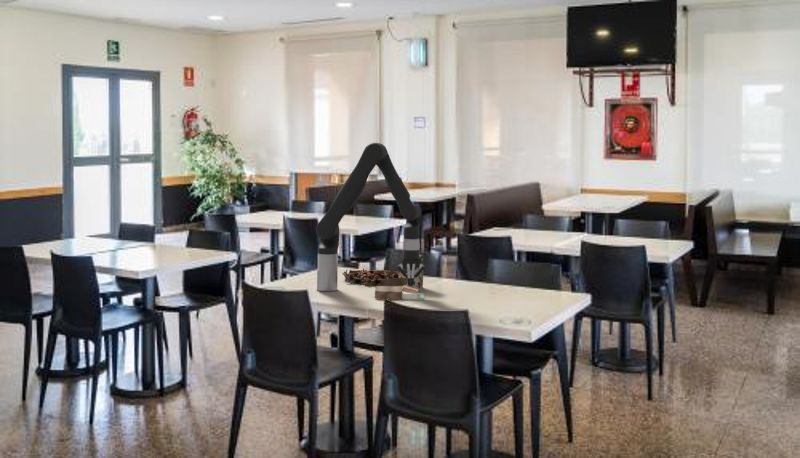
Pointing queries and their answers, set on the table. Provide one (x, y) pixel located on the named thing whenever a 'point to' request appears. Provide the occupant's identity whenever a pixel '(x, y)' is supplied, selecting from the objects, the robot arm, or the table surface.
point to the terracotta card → (409, 289)
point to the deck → (388, 292)
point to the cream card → (409, 295)
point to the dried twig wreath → (375, 277)
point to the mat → (420, 297)
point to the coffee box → (417, 280)
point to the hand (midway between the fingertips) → (410, 286)
